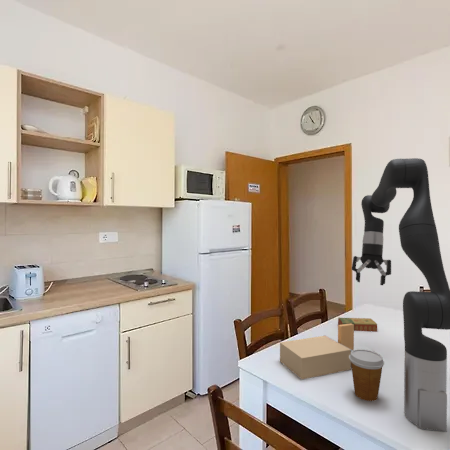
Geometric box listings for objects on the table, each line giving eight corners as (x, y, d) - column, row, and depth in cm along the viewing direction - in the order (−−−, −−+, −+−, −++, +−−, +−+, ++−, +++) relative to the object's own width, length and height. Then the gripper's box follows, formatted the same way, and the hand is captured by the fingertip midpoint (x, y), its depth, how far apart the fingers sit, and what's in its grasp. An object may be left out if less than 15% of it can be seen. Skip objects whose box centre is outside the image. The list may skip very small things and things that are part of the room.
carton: (377, 332, 144) (377, 323, 144) (342, 331, 146) (342, 322, 146) (371, 326, 152) (371, 317, 152) (337, 325, 154) (337, 316, 154)
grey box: (304, 377, 100) (305, 339, 100) (282, 359, 113) (282, 325, 113) (366, 364, 109) (366, 330, 109) (339, 349, 122) (339, 318, 122)
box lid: (301, 379, 100) (301, 358, 100) (279, 361, 113) (280, 342, 113) (350, 369, 107) (350, 349, 107) (324, 353, 120) (324, 335, 120)
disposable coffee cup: (354, 383, 98) (354, 346, 97) (387, 394, 92) (387, 354, 91) (344, 396, 90) (344, 356, 90) (379, 409, 84) (380, 365, 84)
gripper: (355, 241, 123) (352, 281, 121) (394, 244, 119) (392, 286, 117) (352, 242, 130) (350, 281, 128) (389, 246, 126) (387, 285, 124)
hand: (370, 283), depth 123 cm, fingers open, 8 cm apart
